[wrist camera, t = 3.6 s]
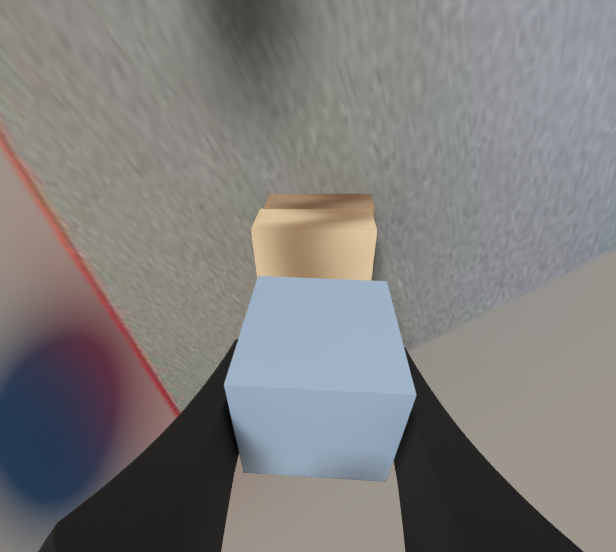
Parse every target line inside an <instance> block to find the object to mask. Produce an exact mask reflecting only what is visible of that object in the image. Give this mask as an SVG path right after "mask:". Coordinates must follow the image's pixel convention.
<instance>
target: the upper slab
mask: <svg viewBox="0 0 616 552" xmlns="http://www.w3.org/2000/svg"><path fill="white" fill-rule="evenodd" d="M251 233H252V241H253V249H254V256H255V264H256V271H257V279H258V276H272V277H296V278H320V279H345V280H369V281H371V279H372V270H373V262H374V254H375V245H376V237H377V228H376V224H375V221H374V217H373V214H372V210H366V209H260V211H259V213H258V215H257V217H256V219H255V222H254V224H253V226H252V228H251Z"/></svg>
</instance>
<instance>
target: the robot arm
mask: <svg viewBox="0 0 616 552" xmlns="http://www.w3.org/2000/svg"><path fill="white" fill-rule="evenodd" d="M237 342H238V339H237V340H235V341H234V343H233V345H232V346H231V348H230V349H229V351H228V352H227V354H226V355H225V357H224V358H223V360H222V361H221V363H220V364H219V366H218V367H217V369H216V370H215V371H214V373H213V374H212V375H211V377H210V378H209V379H208V381H207V382H206V383H205V385H204V386H203V387H202V389H201V390H200V391H199V392H198V393H197V395H196V396H195V397H194V398H193V399H192V401H191V402H190V403H189V404H188V406H187V407H186V408H185V409H184V410H183V411H182V412H181V414H180V415H179V416H178V417H177V418H176V419H175V420H174V421H173V422H172V424H170V426H169V427H168V428H167V429H166V430H165V431H164V432H163V433H162V434H161V435H160V436H159V437H158V438H157V439H156V440H155V441H154V442H153V443H152V444H151V445H150V446H149V447H148V448H147V449H146V450H145V451H144V452H143V453H141V454H140V455H139V456H138V457H137V458H136V459H135V460H134V461H133V462H132V463H130V464H129V465H128V466H127V467H126V468H125V469H123V470H122V471H121V472H120V473H119V474H118V475H116V476H115V477H114V478H113V479H112V480H111V481H110V482H109V483H107V484H106V485H105V486H104V487H102V488H101V489H100V490H99V491H98V492H96V493H95V494H94V495H92V496H91V497H90V498H89V499H87V500H86V501H85V502H84V503H82V504H81V505H80V506H79V507H77V508H76V509H75V510H73V511H72V512H71V513H69V514H68V515H67V516H65V517H64V518H63V519H61V520H60V521H59V522H58V523H57V524H56V525H55V527H54V529H53V530H52V531H51V533H50V534H49V536H48V537H47V539H46V540H45V542H44V543H43V545H42V546H41V548H40V550H39V551H38V552H221V548H222V541H223V535H224V529H225V523H226V517H227V511H228V505H229V500H230V494H231V488H232V483H233V477H234V472H235V467H236V463H237V459H238V455H239V450H238V446H237V441H236V437H235V432H234V428H233V423H232V419H231V414H230V410H229V406H228V401H227V397H226V392H225V388H224V383H225V380H226V376H227V373H228V370H229V367H230V364H231V361H232V358H233V354H234V351H235V348H236V345H237ZM404 349H405V353H406V357H407V361H408V365H409V369H410V372H411V376H412V380H413V384H414V388H415V391H416V398H415V401H414V404H413V406H412V409H411V412H410V415H409V418H408V421H407V424H406V426H405V429H404V432H403V435H402V438H401V441H400V443H399V446H398V449H397V452H396V455H395V458H394V465H395V470H396V475H397V482H398V489H399V497H400V506H401V514H402V523H403V532H404V541H405V550H406V552H583V551H582V550H581V549H580V548H578V547H577V546H576V545H575V544H574V543H573V542H572V541H571V540H569V539H568V538H567V537H566V536H565V535H563V534H562V533H561V532H560V531H559V530H558V529H556V528H555V527H554V526H553V525H552V524H551V523H550V522H549V521H548V520H547V519H546V518H544V517H543V516H542V515H541V514H540V513H539V512H538V511H537V510H536V509H535V508H534V507H533V506H532V505H531V504H529V502H527V501H526V500H525V499H524V498H523V497H522V496H521V495H520V494H519V493H518V492H517V491H516V490H515V489H514V488H513V487H512V486H511V485H510V484H509V483H508V482H507V481H506V480H505V479H504V478H503V477H502V475H500V473H499V472H498V471H496V470H495V468H494V467H493V466H492V465H491V464H490V463H489V462H488V461H487V460H486V459H485V457H484V456H483V455H482V454H481V453H480V452H479V451H478V450H477V449H476V447H475V446H474V445H473V444H472V443H471V442H470V440H469V439H468V438H467V437H466V436H465V434H464V433H463V432H462V431H461V430H460V428H459V427H458V426H457V425H456V423H455V422H454V421H453V419H452V418H451V417H450V415H449V414H448V413H447V411H446V410H445V409H444V407H443V406H442V405H441V403H440V402H439V400H438V399H437V397H436V396H435V395H434V393H433V392H432V391H431V389H430V387H429V386H428V384H427V383H426V381H425V380H424V378H423V377H422V375H421V373H420V372H419V370H418V369H417V367H416V365H415V364H414V362H413V361H412V359H411V357H410V355H409V354H408V352H407V350H406V348H405V347H404Z"/></svg>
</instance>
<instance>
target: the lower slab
mask: <svg viewBox="0 0 616 552" xmlns="http://www.w3.org/2000/svg"><path fill="white" fill-rule="evenodd" d="M264 209H366V210H372V214H373V217H374V212H375V207H374V204H373V201H372V198H371V194H269V196H268V199H267V201H266V203H265V206H264Z"/></svg>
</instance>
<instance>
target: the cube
mask: <svg viewBox="0 0 616 552" xmlns="http://www.w3.org/2000/svg"><path fill="white" fill-rule="evenodd" d="M224 388H225V392H226V397H227V401H228V406H229V410H230V414H231V419H232V423H233V428H234V432H235V437H236V441H237V446H238V450H239V454H240V459H241V463H242V467H243V472H244V473H256V474H272V475H273V474H274V475H288V476H304V477H321V478H336V479H351V480H367V481H383V482H386V480H387V478H388V475H389V472H390V469H391V466H392V463H393V461H394V458H395V455H396V452H397V449H398V446H399V443H400V441H401V438H402V435H403V432H404V429H405V426H406V424H407V421H408V418H409V415H410V412H411V409H412V406H413V404H414V401H415V398H416V391H415V388H414V384H413V380H412V376H411V372H410V369H409V365H408V361H407V357H406V353H405V349H404V346H403V342H402V338H401V334H400V330H399V327H398V323H397V319H396V315H395V311H394V307H393V304H392V300H391V296H390V292H389V288H388V285H387V281H369V280H345V279H320V278H296V277H272V276H258V279H257V282H256V285H255V288H254V291H253V294H252V298H251V301H250V304H249V307H248V310H247V313H246V317H245V320H244V323H243V326H242V329H241V332H240V335H239V339H238V342H237V345H236V348H235V351H234V354H233V358H232V361H231V364H230V367H229V370H228V373H227V376H226V380H225V383H224Z"/></svg>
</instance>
